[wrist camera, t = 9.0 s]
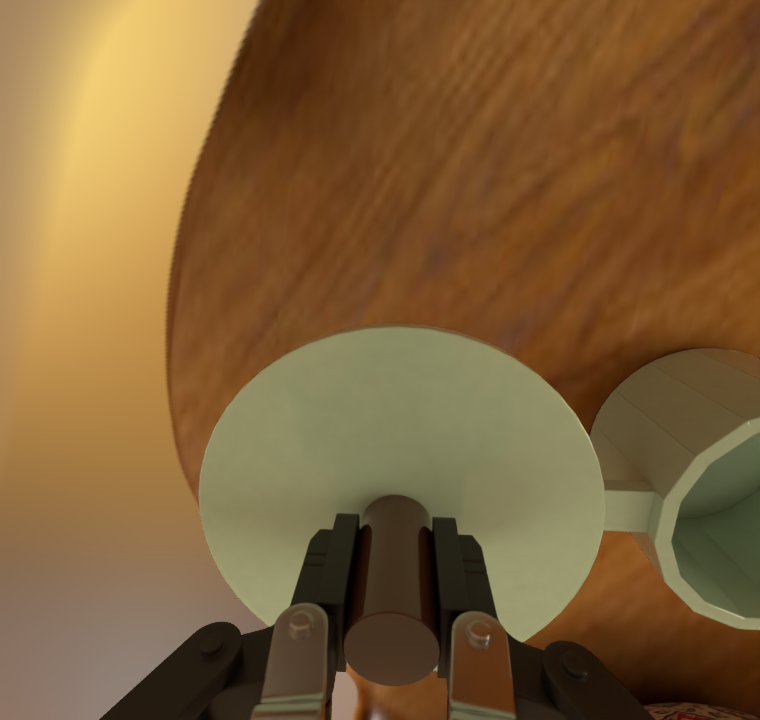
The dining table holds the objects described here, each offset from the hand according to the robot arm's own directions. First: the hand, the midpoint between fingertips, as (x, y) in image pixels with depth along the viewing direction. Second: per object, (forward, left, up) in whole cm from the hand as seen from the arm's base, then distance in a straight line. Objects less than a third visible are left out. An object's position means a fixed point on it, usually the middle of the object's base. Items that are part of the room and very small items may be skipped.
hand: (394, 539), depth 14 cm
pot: (+4, +19, -15) cm, 25 cm away
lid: (0, 0, -1) cm, 1 cm away
